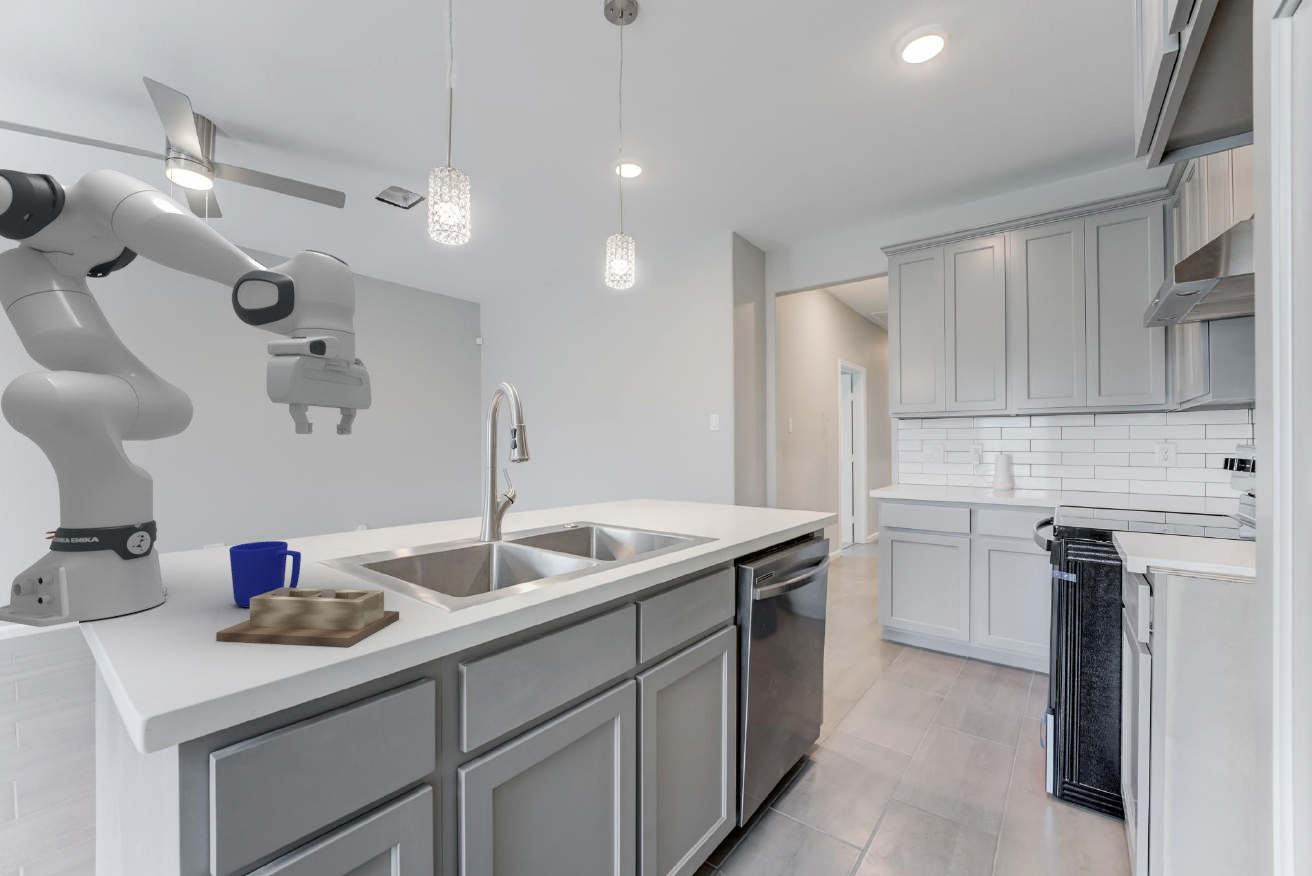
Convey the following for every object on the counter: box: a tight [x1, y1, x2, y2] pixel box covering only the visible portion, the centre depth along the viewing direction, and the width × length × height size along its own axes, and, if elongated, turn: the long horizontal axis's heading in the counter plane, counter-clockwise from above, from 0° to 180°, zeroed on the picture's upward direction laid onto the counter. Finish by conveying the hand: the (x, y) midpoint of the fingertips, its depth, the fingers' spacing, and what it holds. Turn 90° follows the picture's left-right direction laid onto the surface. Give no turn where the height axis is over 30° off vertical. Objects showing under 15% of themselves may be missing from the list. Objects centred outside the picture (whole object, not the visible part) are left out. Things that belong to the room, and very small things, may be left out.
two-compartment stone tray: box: [249, 586, 385, 631], centre depth 83 cm, size 17×6×4 cm, turn 83°
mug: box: [228, 540, 302, 608], centre depth 96 cm, size 8×12×10 cm
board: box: [215, 587, 400, 648], centre depth 83 cm, size 20×12×6 cm, turn 83°
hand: (325, 434), depth 93 cm, fingers open, 8 cm apart
